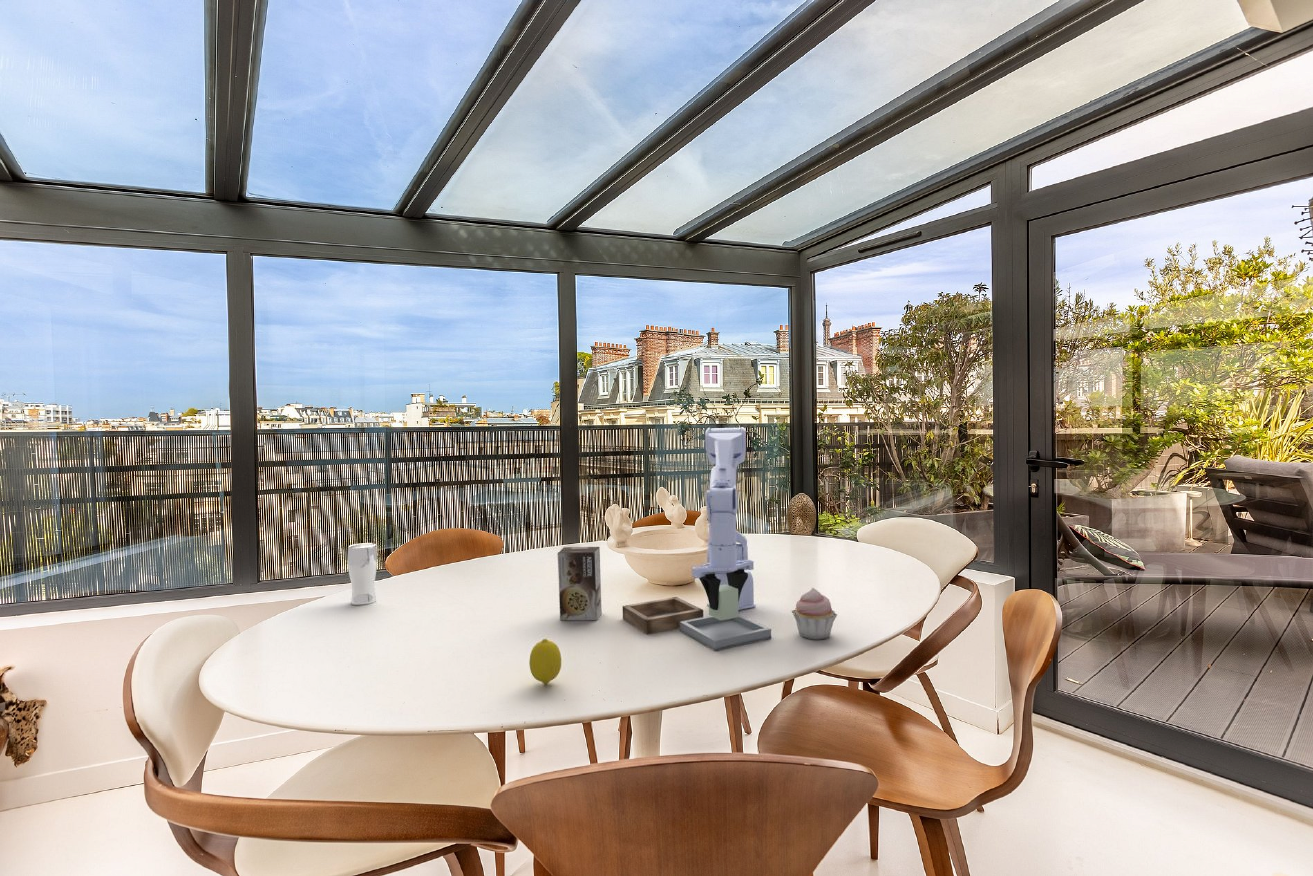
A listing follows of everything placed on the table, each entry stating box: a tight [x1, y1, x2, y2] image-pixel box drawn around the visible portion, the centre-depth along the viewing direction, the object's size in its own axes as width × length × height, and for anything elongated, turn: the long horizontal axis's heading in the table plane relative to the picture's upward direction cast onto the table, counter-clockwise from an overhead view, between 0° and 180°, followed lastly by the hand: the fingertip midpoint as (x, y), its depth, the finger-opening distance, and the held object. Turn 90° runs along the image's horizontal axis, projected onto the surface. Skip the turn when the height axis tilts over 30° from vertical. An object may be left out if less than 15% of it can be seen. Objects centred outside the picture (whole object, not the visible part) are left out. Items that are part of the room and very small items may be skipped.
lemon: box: [528, 638, 562, 685], centre depth 108 cm, size 6×6×8 cm
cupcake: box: [791, 587, 838, 640], centre depth 130 cm, size 9×9×10 cm
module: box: [708, 584, 740, 620], centre depth 132 cm, size 4×4×6 cm
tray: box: [679, 614, 772, 652], centre depth 132 cm, size 14×14×2 cm
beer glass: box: [347, 542, 378, 606], centre depth 162 cm, size 7×7×15 cm
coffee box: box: [557, 546, 603, 621], centre depth 146 cm, size 9×6×16 cm
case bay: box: [622, 596, 704, 635], centre depth 142 cm, size 14×12×3 cm
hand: (724, 607), depth 132 cm, fingers closed on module, 4 cm apart
